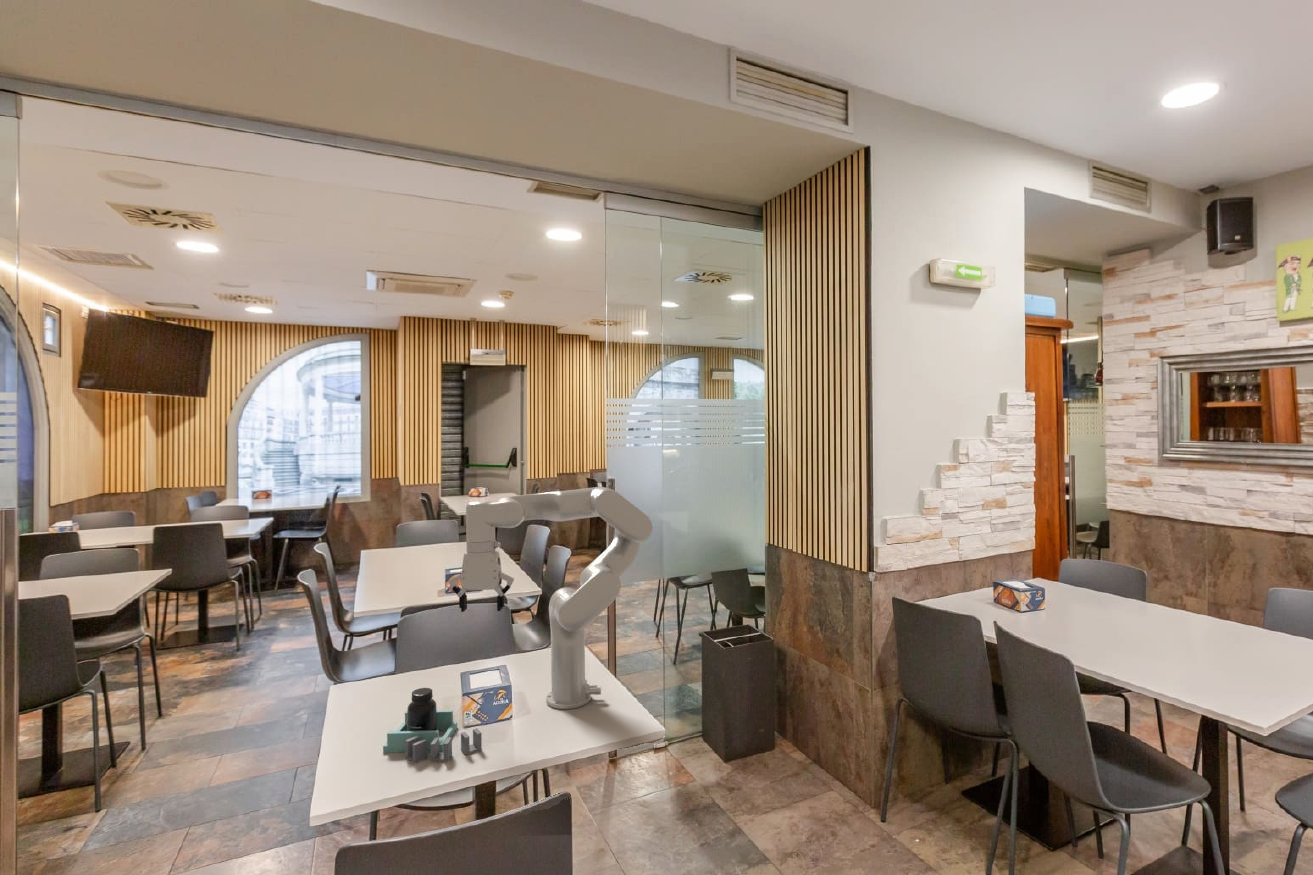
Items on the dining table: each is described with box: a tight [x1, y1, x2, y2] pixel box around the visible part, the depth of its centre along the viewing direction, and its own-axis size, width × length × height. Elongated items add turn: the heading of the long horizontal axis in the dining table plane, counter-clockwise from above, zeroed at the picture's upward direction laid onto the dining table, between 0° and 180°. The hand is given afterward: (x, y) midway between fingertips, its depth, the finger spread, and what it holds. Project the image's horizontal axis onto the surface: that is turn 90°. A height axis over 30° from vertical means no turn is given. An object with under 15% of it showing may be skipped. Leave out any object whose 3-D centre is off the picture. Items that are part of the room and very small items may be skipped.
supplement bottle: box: [406, 687, 437, 731], centre depth 154 cm, size 7×7×12 cm
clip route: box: [405, 727, 483, 764], centre depth 146 cm, size 17×8×4 cm, turn 91°
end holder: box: [382, 709, 458, 753], centre depth 154 cm, size 14×12×4 cm
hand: (482, 610), depth 167 cm, fingers open, 9 cm apart
